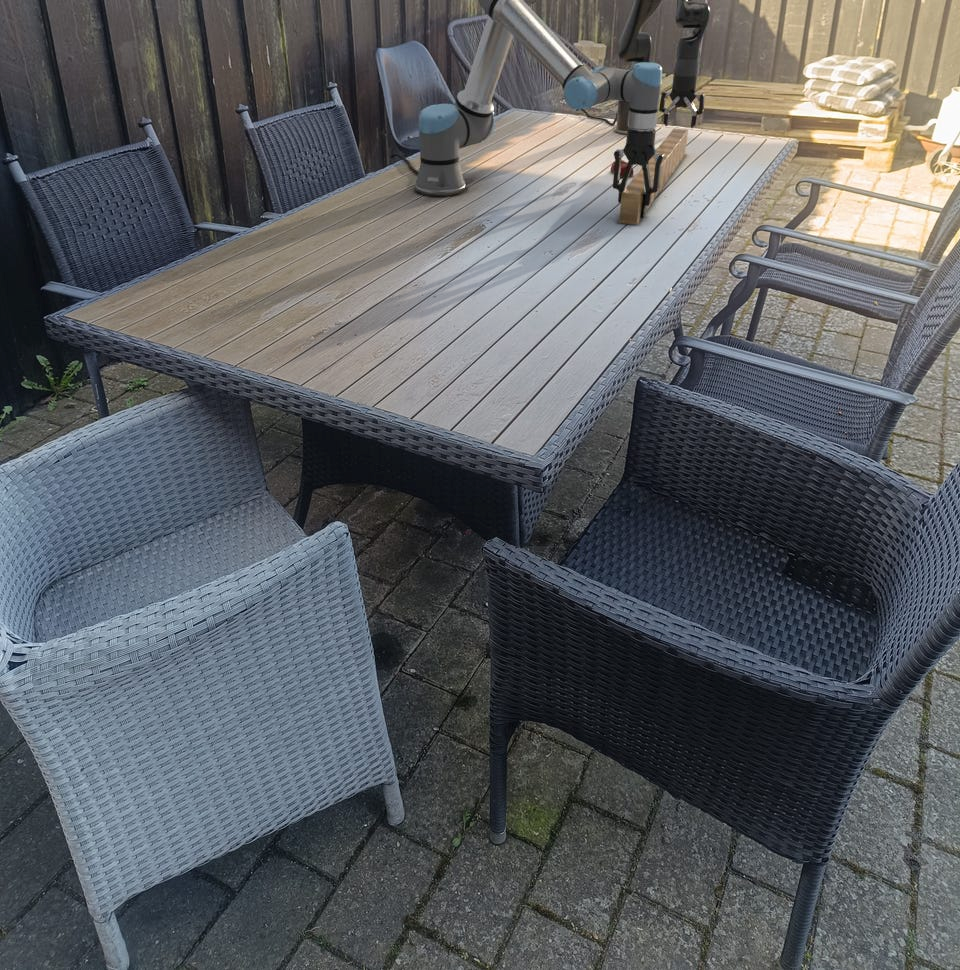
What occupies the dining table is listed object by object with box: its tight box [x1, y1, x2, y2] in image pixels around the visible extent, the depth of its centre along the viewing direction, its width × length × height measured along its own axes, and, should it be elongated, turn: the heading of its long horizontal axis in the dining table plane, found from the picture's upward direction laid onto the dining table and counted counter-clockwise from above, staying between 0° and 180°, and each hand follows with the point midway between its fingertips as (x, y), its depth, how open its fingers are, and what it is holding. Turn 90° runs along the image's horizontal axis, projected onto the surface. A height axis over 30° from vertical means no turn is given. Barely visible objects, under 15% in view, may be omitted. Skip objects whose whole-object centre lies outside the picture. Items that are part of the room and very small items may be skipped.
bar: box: [618, 128, 689, 226], centre depth 260 cm, size 78×5×8 cm, turn 159°
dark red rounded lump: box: [610, 159, 634, 177], centre depth 271 cm, size 6×4×8 cm
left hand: (632, 215), depth 237 cm, fingers closed on bar, 5 cm apart
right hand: (679, 126), depth 281 cm, fingers open, 8 cm apart
